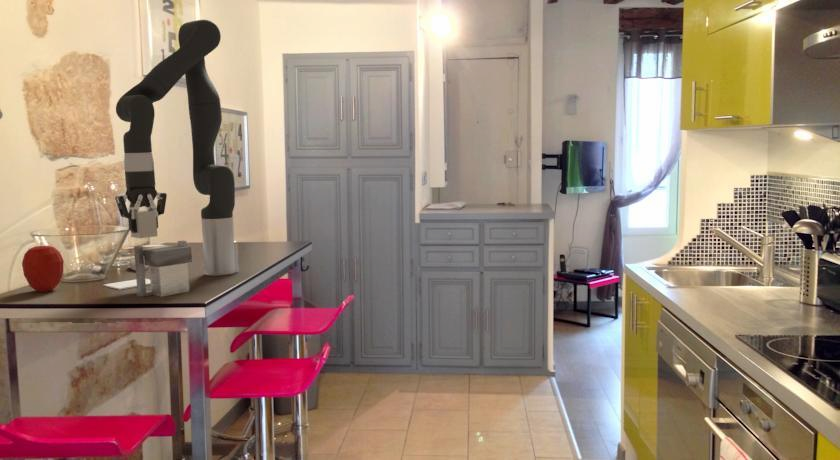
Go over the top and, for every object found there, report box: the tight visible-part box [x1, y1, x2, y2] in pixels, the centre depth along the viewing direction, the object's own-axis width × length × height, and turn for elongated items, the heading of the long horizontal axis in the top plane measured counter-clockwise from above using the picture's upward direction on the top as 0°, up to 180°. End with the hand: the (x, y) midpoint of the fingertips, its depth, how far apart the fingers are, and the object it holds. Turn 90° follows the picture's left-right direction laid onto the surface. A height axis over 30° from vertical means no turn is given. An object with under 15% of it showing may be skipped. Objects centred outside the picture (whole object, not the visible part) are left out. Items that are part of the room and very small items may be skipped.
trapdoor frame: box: [133, 240, 192, 298], centre depth 186 cm, size 8×14×13 cm, turn 138°
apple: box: [21, 243, 64, 293], centre depth 193 cm, size 10×10×14 cm
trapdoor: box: [121, 243, 193, 267], centre depth 189 cm, size 19×11×4 cm, turn 48°
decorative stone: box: [128, 257, 150, 272], centre depth 229 cm, size 6×16×3 cm, turn 25°
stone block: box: [130, 209, 158, 239], centre depth 192 cm, size 5×5×7 cm
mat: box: [102, 278, 151, 291], centre depth 200 cm, size 12×10×1 cm
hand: (144, 231), depth 193 cm, fingers closed on stone block, 5 cm apart
